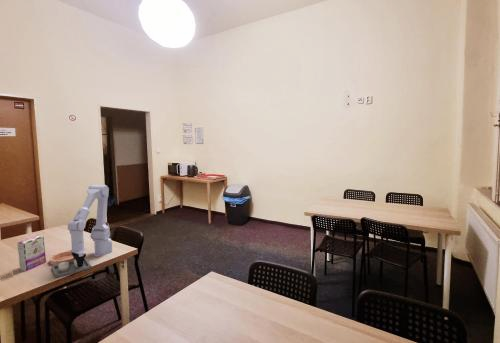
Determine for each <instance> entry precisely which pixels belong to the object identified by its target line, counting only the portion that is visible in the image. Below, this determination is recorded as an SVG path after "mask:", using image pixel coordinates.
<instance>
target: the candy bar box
mask: <svg viewBox="0 0 500 343" xmlns="http://www.w3.org/2000/svg"><path fill="white" fill-rule="evenodd" d="M16 245H17V255H18V261H19V271H23V272H29V271H30V270H32V269H33V270H34V268H37V267H39V266H42V265H44V264H45V263H47V260H46V259H47V258H46V249H45V247H46V246H45V236H44V235H36V236H32V237H30V238H26V239H24V240H20V241H18V242H17V244H16Z"/></svg>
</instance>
